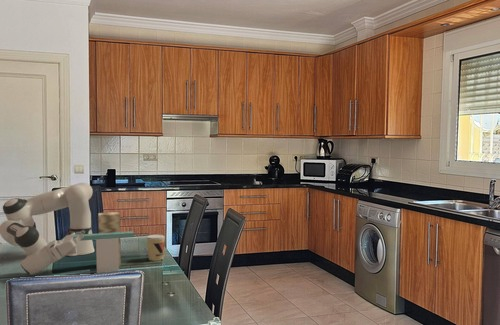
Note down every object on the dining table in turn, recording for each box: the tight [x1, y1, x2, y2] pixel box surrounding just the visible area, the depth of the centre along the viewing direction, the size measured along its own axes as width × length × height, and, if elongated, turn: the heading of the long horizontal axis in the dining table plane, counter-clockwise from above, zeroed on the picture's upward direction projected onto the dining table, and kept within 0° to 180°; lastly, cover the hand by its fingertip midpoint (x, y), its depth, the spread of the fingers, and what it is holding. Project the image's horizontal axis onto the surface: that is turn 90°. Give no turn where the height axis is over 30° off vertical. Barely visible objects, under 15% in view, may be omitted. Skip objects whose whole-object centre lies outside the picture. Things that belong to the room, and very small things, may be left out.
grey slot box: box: [95, 238, 120, 274], centre depth 215 cm, size 10×7×16 cm
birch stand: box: [97, 211, 122, 267], centre depth 225 cm, size 10×8×26 cm
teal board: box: [72, 231, 135, 241], centre depth 214 cm, size 28×4×2 cm, turn 107°
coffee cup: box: [146, 234, 166, 261], centre depth 237 cm, size 9×9×12 cm
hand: (84, 233), depth 211 cm, fingers open, 8 cm apart
